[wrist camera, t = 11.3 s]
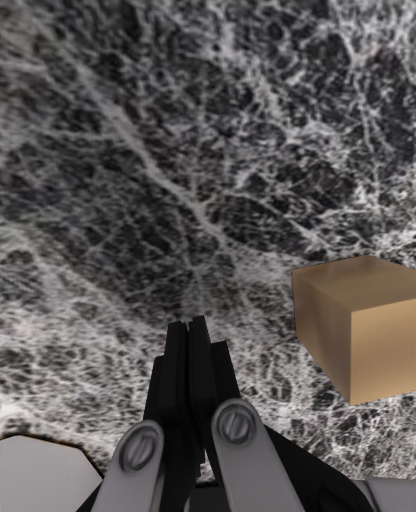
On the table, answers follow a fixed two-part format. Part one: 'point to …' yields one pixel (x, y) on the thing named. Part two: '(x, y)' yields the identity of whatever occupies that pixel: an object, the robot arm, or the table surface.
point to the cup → (43, 476)
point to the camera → (209, 500)
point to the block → (359, 325)
